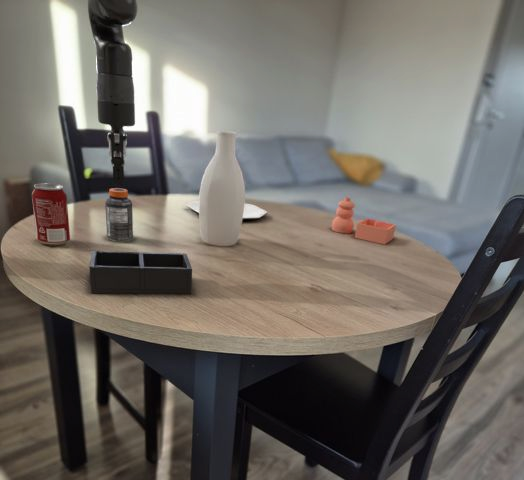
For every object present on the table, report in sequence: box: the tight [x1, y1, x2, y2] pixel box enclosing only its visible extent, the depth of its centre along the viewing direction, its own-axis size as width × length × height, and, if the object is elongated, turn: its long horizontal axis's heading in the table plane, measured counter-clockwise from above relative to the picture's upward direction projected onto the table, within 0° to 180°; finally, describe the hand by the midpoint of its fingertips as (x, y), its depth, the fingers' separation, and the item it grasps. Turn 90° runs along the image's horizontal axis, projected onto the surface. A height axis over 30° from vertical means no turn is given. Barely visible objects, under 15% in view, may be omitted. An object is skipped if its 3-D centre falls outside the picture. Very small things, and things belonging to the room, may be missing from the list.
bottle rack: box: [88, 250, 193, 295], centre depth 89 cm, size 17×9×5 cm, turn 104°
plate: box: [186, 199, 268, 220], centre depth 150 cm, size 24×24×2 cm
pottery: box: [331, 196, 397, 245], centre depth 142 cm, size 18×10×10 cm, turn 62°
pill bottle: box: [105, 187, 134, 243], centre depth 111 cm, size 6×6×11 cm
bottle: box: [198, 129, 246, 247], centre depth 115 cm, size 11×11×25 cm
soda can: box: [31, 182, 71, 247], centre depth 103 cm, size 7×7×12 cm
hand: (118, 180), depth 108 cm, fingers open, 8 cm apart
